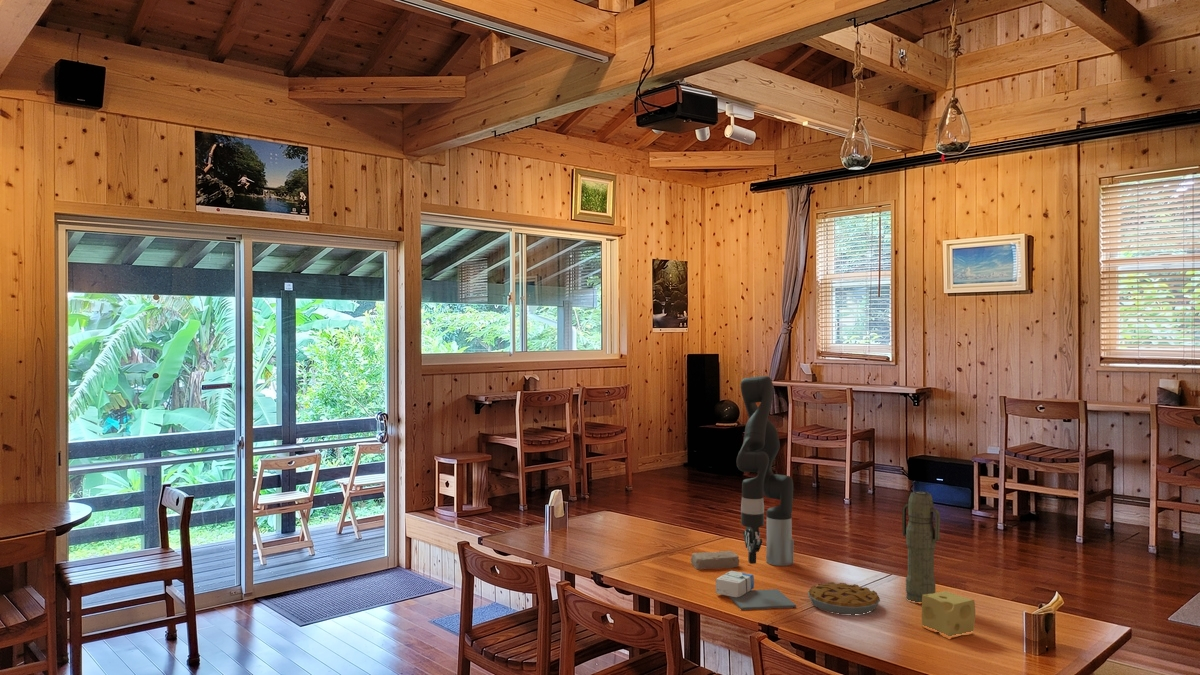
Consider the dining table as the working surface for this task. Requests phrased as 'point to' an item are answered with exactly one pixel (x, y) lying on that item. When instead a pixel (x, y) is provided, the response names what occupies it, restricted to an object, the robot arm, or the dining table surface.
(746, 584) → the ink box
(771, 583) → the dining table surface
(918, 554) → the dark olive tall piece
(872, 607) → the pie
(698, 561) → the brick
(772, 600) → the mat
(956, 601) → the cheese
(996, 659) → the dining table surface
